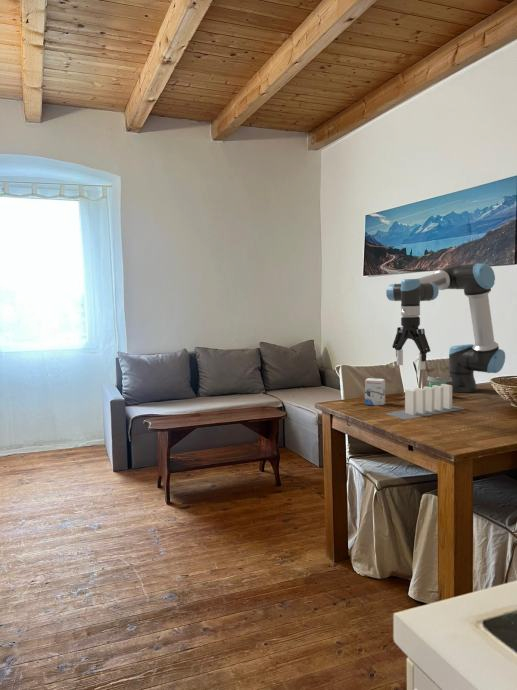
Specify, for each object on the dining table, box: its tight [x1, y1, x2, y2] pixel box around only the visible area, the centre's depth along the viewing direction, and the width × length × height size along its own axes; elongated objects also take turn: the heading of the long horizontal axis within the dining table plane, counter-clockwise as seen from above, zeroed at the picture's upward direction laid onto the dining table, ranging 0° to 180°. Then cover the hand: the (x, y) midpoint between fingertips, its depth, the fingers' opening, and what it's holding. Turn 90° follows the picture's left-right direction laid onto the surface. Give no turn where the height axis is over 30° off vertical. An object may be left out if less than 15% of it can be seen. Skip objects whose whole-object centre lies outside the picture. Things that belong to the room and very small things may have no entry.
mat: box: [384, 404, 466, 421], centre depth 224 cm, size 34×12×1 cm, turn 115°
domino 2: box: [413, 387, 426, 413], centre depth 222 cm, size 2×5×10 cm, turn 25°
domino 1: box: [404, 388, 416, 415], centre depth 220 cm, size 2×5×10 cm, turn 25°
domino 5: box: [441, 384, 453, 409], centre depth 228 cm, size 2×5×10 cm, turn 25°
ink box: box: [364, 377, 386, 406], centre depth 242 cm, size 9×5×12 cm, turn 65°
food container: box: [426, 374, 452, 388], centre depth 252 cm, size 12×6×10 cm, turn 42°
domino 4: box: [432, 385, 443, 410], centre depth 226 cm, size 2×5×10 cm, turn 25°
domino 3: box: [422, 386, 435, 412], centre depth 224 cm, size 2×5×10 cm, turn 26°
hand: (410, 367), depth 218 cm, fingers open, 13 cm apart
